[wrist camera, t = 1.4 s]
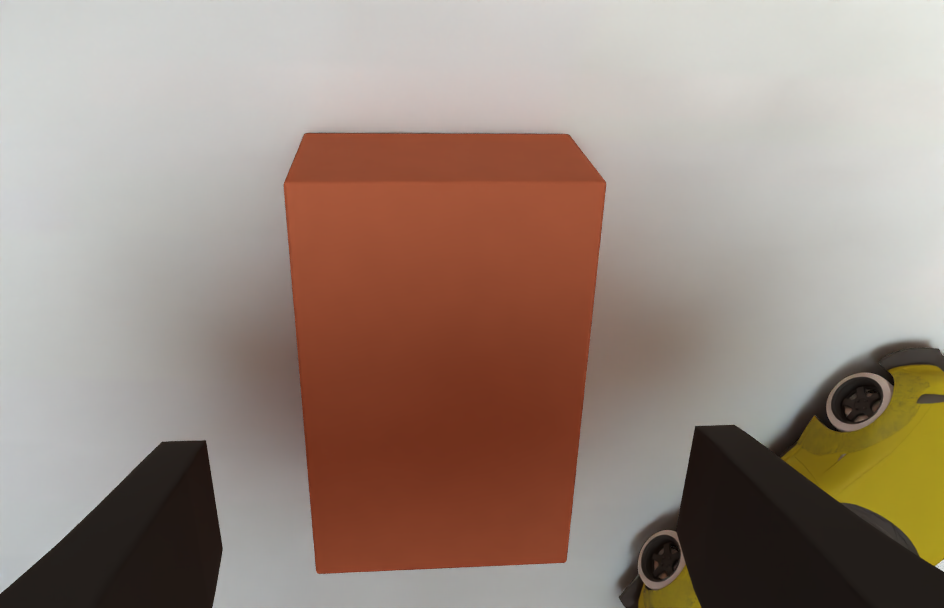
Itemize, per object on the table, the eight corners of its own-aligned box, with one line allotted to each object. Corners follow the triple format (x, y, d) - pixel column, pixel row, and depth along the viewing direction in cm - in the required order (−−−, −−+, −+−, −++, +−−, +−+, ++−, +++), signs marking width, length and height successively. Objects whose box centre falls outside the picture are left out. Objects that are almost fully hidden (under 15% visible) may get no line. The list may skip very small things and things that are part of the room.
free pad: (570, 133, 15) (607, 181, 12) (542, 469, 19) (567, 564, 16) (303, 132, 15) (282, 182, 12) (327, 476, 18) (316, 575, 15)
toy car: (1023, 430, 19) (1127, 515, 16) (715, 664, 22) (759, 769, 19) (908, 313, 17) (1003, 387, 15) (588, 584, 20) (618, 689, 17)
